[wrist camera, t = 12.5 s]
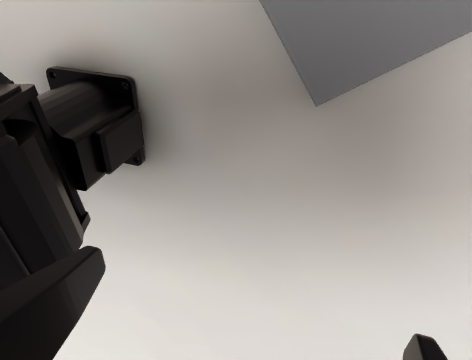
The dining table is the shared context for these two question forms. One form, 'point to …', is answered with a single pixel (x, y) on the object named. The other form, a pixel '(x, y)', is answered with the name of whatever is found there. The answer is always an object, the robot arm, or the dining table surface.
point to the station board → (361, 37)
